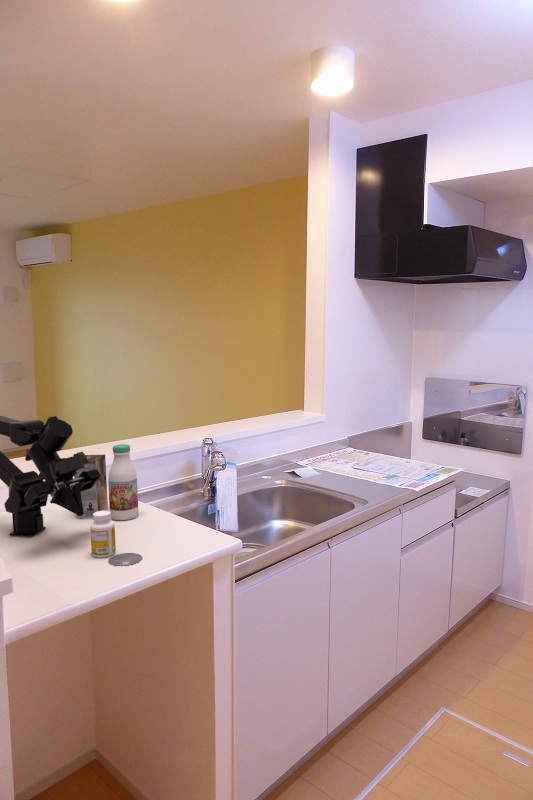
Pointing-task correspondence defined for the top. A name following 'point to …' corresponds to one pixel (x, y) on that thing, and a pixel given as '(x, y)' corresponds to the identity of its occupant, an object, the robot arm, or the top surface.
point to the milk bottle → (122, 485)
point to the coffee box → (94, 487)
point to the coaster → (125, 559)
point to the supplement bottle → (102, 535)
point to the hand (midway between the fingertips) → (81, 515)
